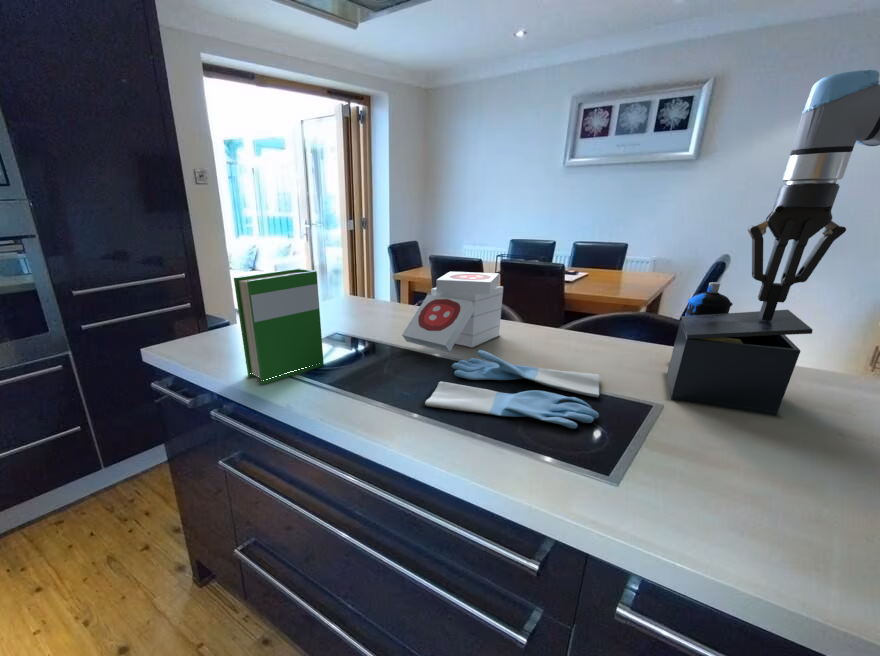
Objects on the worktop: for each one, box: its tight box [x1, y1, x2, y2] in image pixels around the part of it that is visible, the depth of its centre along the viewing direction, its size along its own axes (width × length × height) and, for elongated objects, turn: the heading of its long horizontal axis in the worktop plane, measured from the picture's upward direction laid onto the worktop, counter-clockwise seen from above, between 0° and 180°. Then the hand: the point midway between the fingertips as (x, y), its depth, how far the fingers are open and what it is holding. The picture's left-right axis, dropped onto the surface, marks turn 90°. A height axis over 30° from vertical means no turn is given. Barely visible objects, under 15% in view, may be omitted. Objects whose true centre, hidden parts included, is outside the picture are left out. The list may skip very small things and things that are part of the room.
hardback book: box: [233, 267, 325, 385], centre depth 106 cm, size 18×7×24 cm, turn 131°
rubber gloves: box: [424, 349, 601, 430], centre depth 93 cm, size 27×33×6 cm
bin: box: [666, 320, 802, 416], centre depth 89 cm, size 17×16×13 cm
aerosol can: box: [684, 281, 734, 316], centre depth 101 cm, size 8×8×20 cm
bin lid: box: [680, 309, 813, 339], centre depth 86 cm, size 17×16×1 cm
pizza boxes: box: [401, 271, 504, 353], centre depth 126 cm, size 19×30×18 cm, turn 135°
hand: (764, 318), depth 84 cm, fingers closed
